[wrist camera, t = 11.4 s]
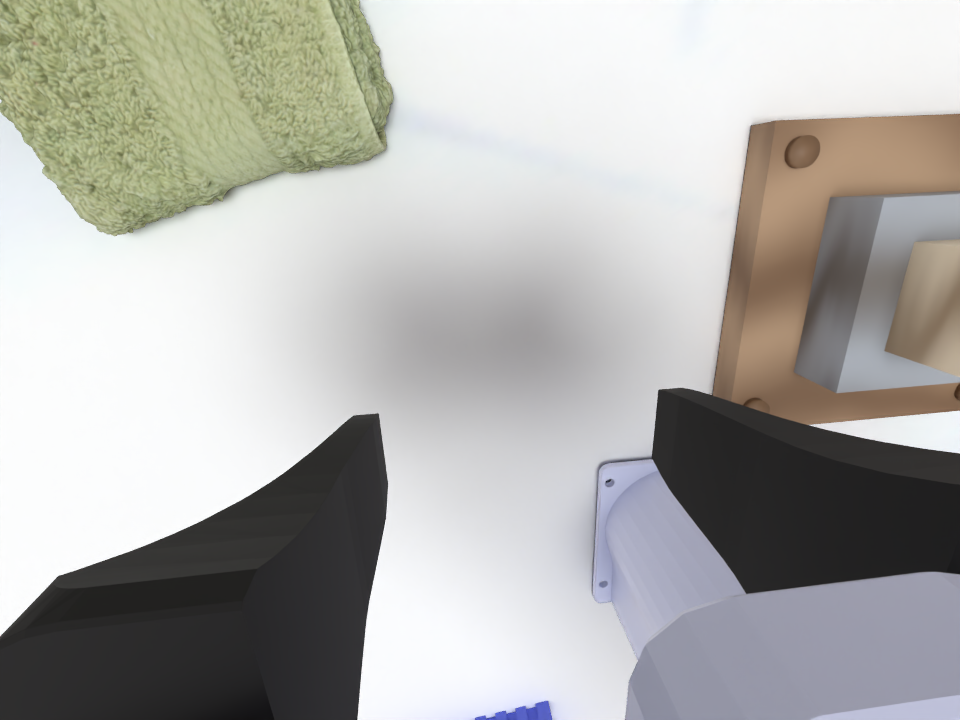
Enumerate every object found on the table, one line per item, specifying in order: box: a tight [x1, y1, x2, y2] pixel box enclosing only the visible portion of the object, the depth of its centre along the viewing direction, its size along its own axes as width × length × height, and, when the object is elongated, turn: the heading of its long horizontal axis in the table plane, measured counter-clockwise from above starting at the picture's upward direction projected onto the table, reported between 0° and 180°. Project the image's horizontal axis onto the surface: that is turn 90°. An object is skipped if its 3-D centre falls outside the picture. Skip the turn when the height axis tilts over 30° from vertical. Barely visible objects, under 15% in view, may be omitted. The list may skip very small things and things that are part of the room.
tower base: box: [712, 114, 960, 425], centre depth 21 cm, size 14×14×4 cm
